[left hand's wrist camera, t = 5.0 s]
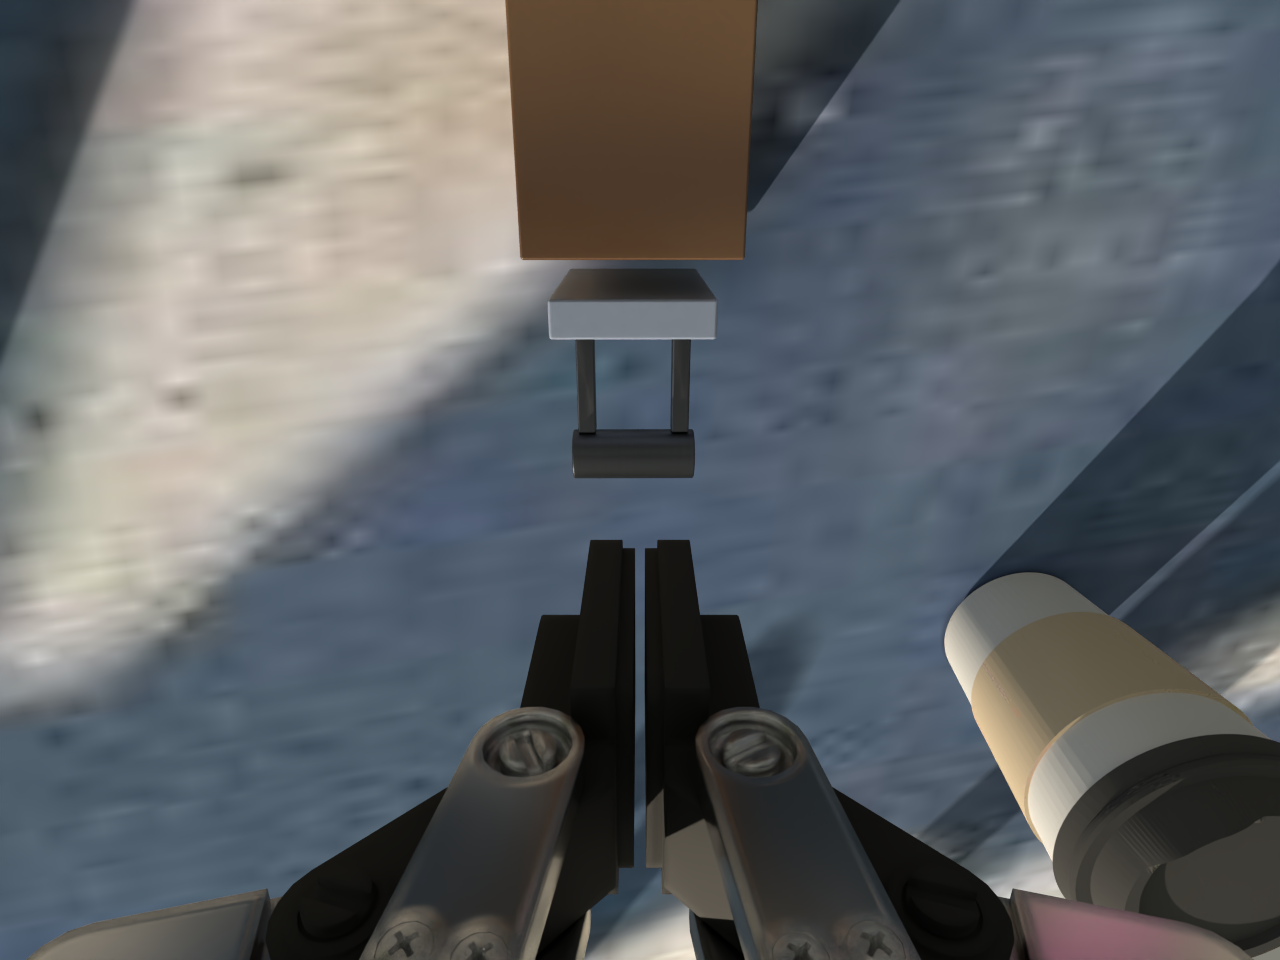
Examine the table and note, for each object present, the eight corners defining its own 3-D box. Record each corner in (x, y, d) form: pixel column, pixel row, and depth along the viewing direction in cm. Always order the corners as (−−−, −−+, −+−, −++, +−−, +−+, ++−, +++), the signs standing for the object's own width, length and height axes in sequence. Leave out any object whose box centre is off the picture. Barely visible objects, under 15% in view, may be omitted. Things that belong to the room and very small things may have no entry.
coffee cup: (1135, 650, 37) (1433, 930, 23) (970, 733, 39) (1155, 1038, 25) (1062, 517, 34) (1352, 745, 20) (890, 614, 36) (1047, 882, 22)
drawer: (692, 425, 32) (710, 502, 24) (575, 425, 32) (556, 502, 24) (714, -360, 23) (755, -638, 15) (547, -362, 22) (503, -640, 15)
